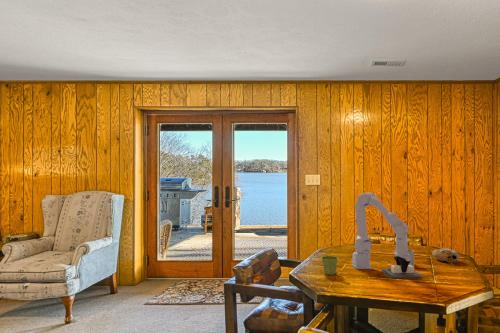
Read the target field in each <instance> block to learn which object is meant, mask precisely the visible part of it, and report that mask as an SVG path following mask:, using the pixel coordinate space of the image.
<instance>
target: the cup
mask: <svg viewBox="0 0 500 333" xmlns="http://www.w3.org/2000/svg"><path fill="white" fill-rule="evenodd" d="M408 254H410V256H409V257H411V261H410V263H409V265H412V266H413V267H415V250H413V249H409V248H408Z"/></svg>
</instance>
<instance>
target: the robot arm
mask: <svg viewBox="0 0 500 333" xmlns="http://www.w3.org/2000/svg"><path fill="white" fill-rule="evenodd" d="M368 206H373V207H375V208H376V209H377V210H378V211H379V212H380V213H381V214H382V215H383V216H384V219H385V221H386V222H387V223H388V224H389V226H390V227H392V228H393V232H394V233H395V251H393V255H394V256H393V259H394V261H395V263H396V265H401V270H402V273H406V271H407V268H408V265H409V263H410V261H411V257H409V256H410V254H408V249H409V246H408V245H409V244H408V243H409V242H408V240H409V238H408V233H409V231H410V227H409V225H408V224H407V223H406V222H404V221H403V220H401V219H400V218H399V217H398V214H396V213H394V212H390V210H388V209H387V207H386V206H385V205H384V204H383V202H382V201H381V200H380V199H379V196H377V195H376V194H375V193H373V192H362V193H360V194H359V195H358V196H357V199H356V203H355V205H354V209H355V219H356V231H357V232H356V233H357V236H356V238H355V244H354V249H355V252H353V253H352V264H351V265H352V267H353V268H354V269H356V270H373V269H374V268H373V267H372V266H371V265H370V264H371V252H370V251H371V249H372V248H373V246H372V242H371V240H370V239H371V238H370V237H369V236H368V231H367V229H368V228H367V219H366V208H367V207H368Z"/></svg>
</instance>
